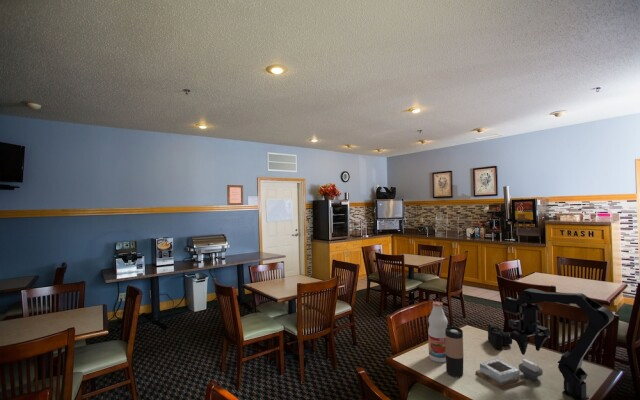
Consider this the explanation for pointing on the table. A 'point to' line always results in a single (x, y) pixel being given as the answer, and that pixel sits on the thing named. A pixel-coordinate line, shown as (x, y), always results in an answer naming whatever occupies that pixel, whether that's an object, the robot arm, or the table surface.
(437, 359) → the fruit juice
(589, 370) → the table surface
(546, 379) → the table surface
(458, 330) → the travel mug
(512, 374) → the hollow square frame
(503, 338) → the camera
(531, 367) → the grey disc with handle
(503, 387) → the walnut plate
